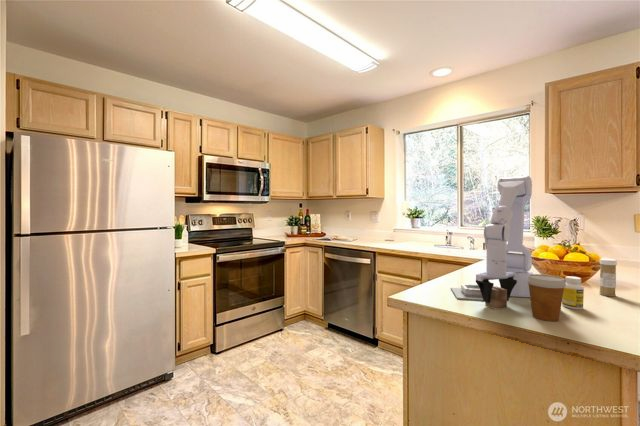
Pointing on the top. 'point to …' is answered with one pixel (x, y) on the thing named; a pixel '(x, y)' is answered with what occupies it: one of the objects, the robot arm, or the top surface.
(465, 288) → the collar
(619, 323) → the top surface
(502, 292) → the keyed block
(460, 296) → the socket plate
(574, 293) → the supplement bottle
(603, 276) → the sprinkles bottle
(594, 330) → the top surface
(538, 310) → the disposable coffee cup
